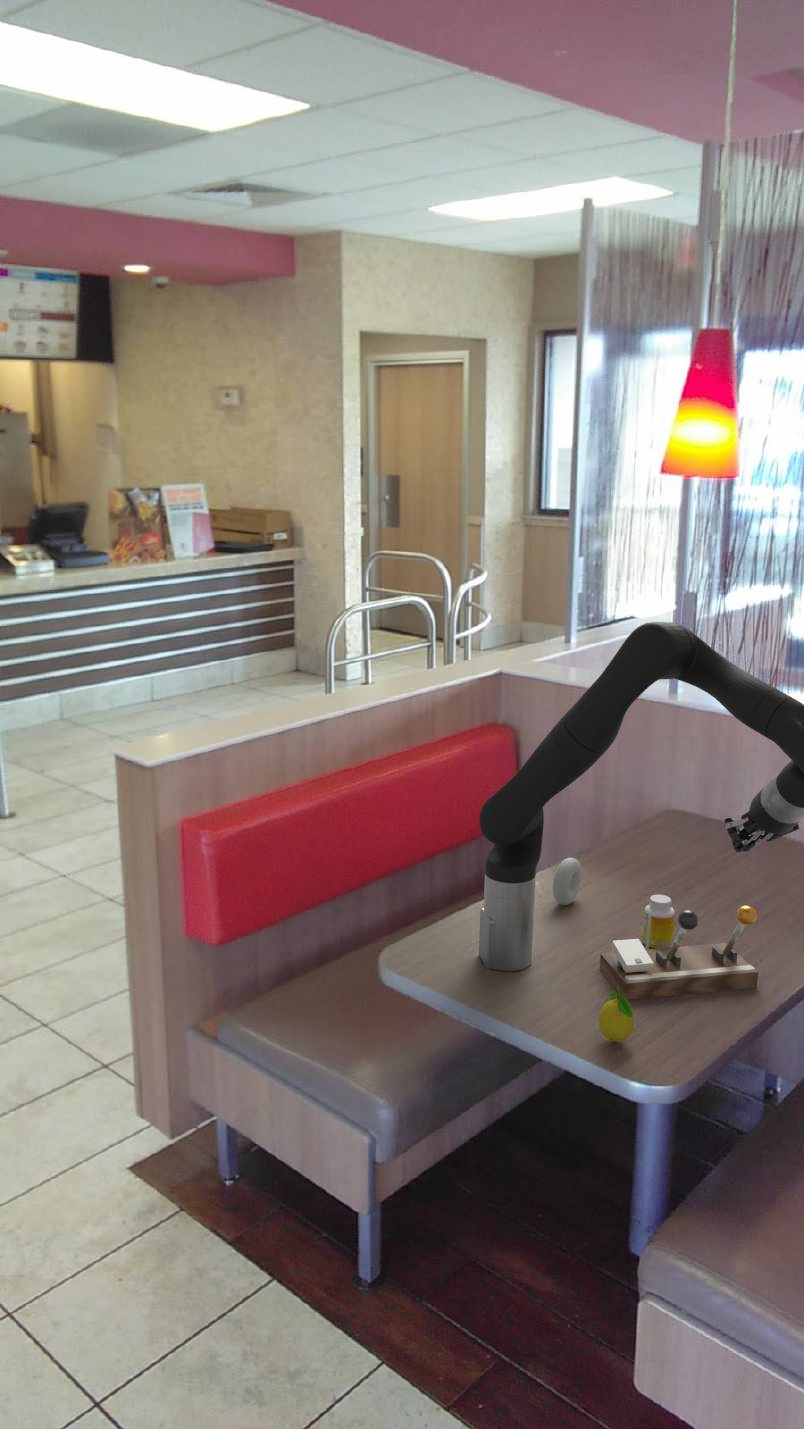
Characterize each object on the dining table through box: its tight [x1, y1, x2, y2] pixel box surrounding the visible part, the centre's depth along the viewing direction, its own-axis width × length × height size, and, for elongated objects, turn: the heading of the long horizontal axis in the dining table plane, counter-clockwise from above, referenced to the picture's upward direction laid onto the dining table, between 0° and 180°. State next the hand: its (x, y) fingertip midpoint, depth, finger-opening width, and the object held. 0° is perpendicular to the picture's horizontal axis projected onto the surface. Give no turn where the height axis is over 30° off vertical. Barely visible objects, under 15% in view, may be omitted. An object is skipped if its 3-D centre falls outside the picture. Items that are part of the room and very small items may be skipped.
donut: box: [552, 857, 583, 906], centre depth 234 cm, size 10×3×10 cm, turn 149°
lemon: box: [598, 986, 635, 1043], centre depth 181 cm, size 7×6×10 cm
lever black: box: [666, 909, 699, 961], centre depth 197 cm, size 3×3×14 cm
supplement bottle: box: [642, 894, 675, 950], centre depth 214 cm, size 6×6×10 cm
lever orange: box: [723, 905, 758, 957], centre depth 200 cm, size 3×3×13 cm
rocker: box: [611, 938, 654, 973], centre depth 201 cm, size 5×7×2 cm
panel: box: [599, 942, 759, 1001], centre depth 203 cm, size 25×12×5 cm, turn 102°
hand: (739, 846), depth 191 cm, fingers closed
